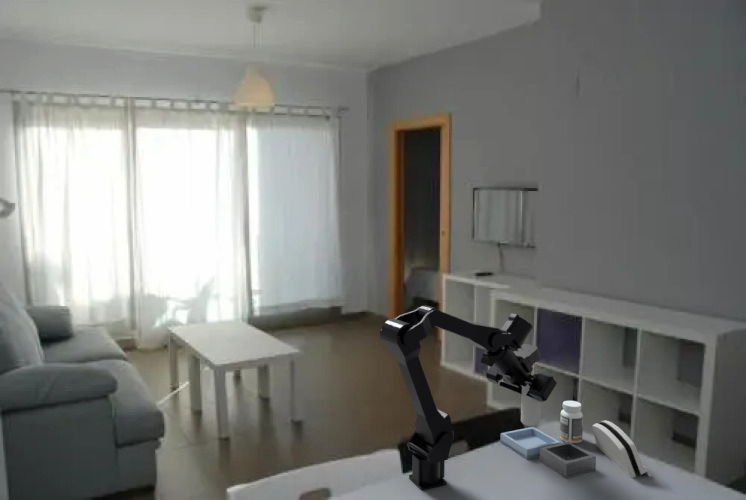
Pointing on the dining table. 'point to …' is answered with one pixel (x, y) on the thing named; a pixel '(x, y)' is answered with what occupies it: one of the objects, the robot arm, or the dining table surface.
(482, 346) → the robot arm
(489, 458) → the dining table surface
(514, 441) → the tray
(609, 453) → the white black arched block
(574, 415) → the pill bottle
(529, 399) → the beverage can
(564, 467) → the short square tube
